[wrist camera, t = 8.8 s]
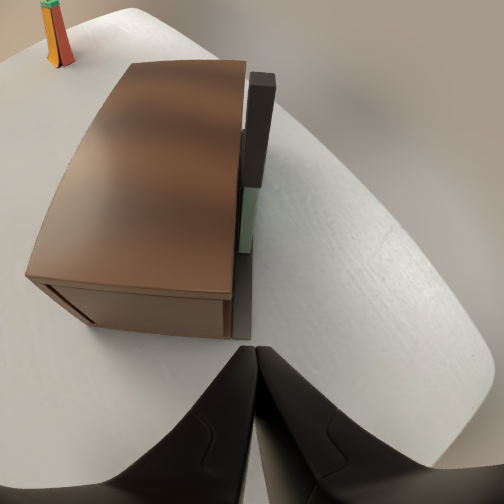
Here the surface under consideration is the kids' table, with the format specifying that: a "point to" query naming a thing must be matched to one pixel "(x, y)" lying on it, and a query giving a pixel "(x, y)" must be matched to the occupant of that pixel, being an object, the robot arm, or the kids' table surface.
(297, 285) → the kids' table surface
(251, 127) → the sliding door
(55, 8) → the building blocks
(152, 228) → the cabinet
